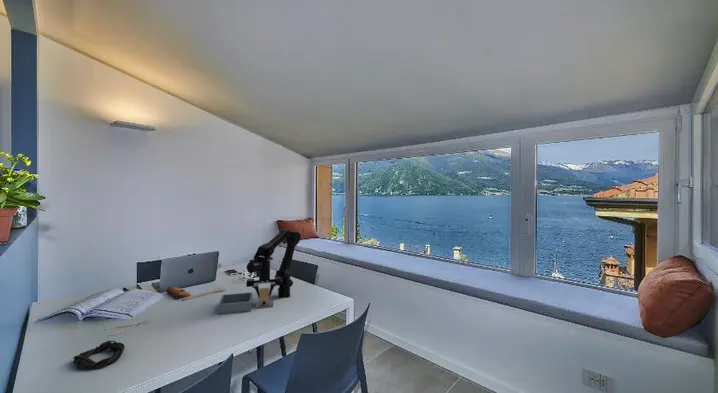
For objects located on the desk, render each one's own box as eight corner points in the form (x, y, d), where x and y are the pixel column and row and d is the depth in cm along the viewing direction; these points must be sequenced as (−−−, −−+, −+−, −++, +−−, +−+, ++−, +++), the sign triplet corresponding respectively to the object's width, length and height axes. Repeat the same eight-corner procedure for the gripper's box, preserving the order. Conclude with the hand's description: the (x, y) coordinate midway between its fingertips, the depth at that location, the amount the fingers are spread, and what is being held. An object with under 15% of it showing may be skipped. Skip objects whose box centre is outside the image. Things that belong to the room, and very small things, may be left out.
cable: (128, 362, 109) (128, 350, 109) (75, 379, 99) (75, 366, 99) (119, 345, 121) (119, 334, 121) (71, 358, 111) (71, 347, 111)
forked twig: (104, 326, 134) (145, 316, 145) (104, 329, 134) (145, 319, 145) (107, 333, 127) (149, 322, 138) (107, 337, 127) (149, 326, 138)
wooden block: (269, 297, 168) (269, 287, 168) (269, 300, 163) (269, 290, 163) (259, 298, 167) (259, 288, 167) (259, 301, 162) (259, 291, 162)
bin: (252, 301, 171) (252, 292, 171) (250, 311, 156) (250, 301, 156) (222, 303, 166) (222, 294, 166) (218, 314, 151) (218, 304, 151)
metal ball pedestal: (272, 301, 171) (272, 287, 171) (272, 307, 162) (273, 292, 162) (256, 302, 168) (256, 288, 168) (255, 308, 160) (255, 293, 159)
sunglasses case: (193, 295, 178) (187, 287, 175) (182, 304, 173) (175, 296, 170) (181, 289, 189) (175, 281, 186) (170, 297, 184) (164, 289, 182)
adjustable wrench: (183, 302, 169) (183, 299, 169) (180, 299, 174) (180, 296, 174) (227, 291, 188) (227, 288, 188) (223, 289, 192) (223, 286, 192)
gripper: (281, 264, 175) (281, 290, 176) (247, 266, 170) (247, 293, 170) (282, 269, 165) (282, 297, 165) (246, 271, 159) (246, 300, 159)
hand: (264, 297), depth 165 cm, fingers closed on wooden block, 5 cm apart
